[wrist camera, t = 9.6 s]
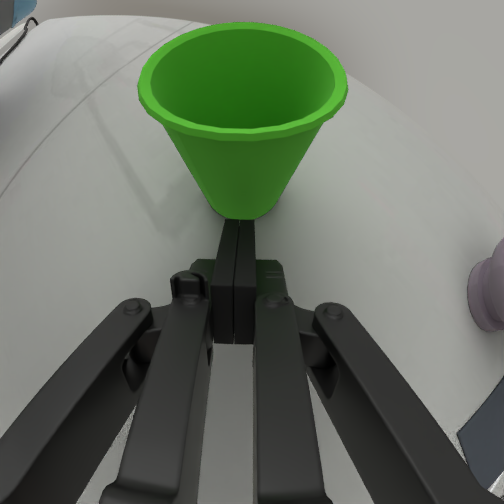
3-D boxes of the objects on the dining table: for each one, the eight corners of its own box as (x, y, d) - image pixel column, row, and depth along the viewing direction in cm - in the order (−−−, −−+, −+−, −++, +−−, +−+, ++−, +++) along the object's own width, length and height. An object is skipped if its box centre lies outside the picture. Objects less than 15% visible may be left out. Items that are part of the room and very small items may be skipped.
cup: (326, 181, 21) (376, 65, 11) (256, 276, 19) (272, 183, 8) (232, 126, 23) (228, 10, 12) (155, 203, 20) (97, 89, 10)
